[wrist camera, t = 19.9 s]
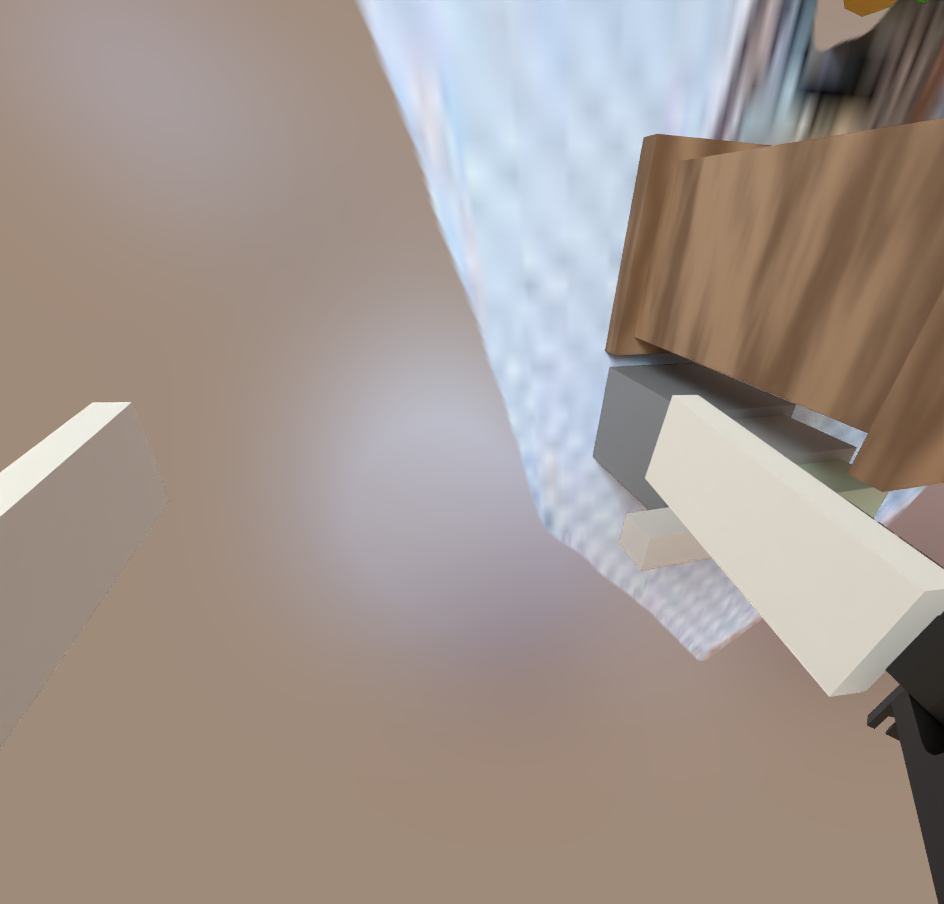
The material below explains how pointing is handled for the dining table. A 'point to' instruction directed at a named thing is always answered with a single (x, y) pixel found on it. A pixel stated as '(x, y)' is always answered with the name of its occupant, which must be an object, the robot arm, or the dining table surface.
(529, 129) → the dining table surface
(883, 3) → the decorative tree
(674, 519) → the handled block
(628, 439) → the stepped grey block
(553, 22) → the dining table surface
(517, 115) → the dining table surface
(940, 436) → the walnut stand
